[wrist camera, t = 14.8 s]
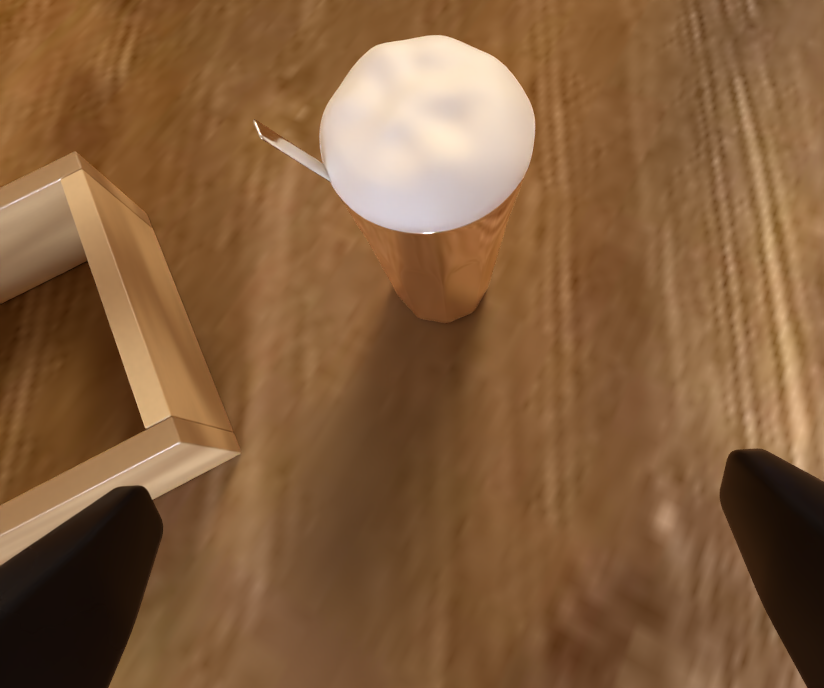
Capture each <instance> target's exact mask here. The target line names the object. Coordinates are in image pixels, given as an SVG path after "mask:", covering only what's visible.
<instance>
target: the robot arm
mask: <svg viewBox="0 0 824 688" xmlns="http://www.w3.org/2000/svg"><path fill="white" fill-rule="evenodd" d="M720 502H721V506H722V509H723V511H724V514H725V516H726V518H727V521H728V523H729V526H730V528H731V530H732V533H733V535H734V538H735V540H736V542H737V545H738V547H739V550H740V552H741V554H742V557H743V559H744V561H745V564H746V566H747V569H748V571H749V573H750V576H751V578H752V581H753V583H754V585H755V588H756V590H757V592H758V595H759V597H760V599H761V601H762V603H763V606H764V608H765V610H766V612H767V614H768V616H769V618H770V620H771V621H772V623H773V625H774V627H775V629H776V631H777V633H778V635H779V636H780V638H781V640H782V642H783V644H784V646H785V647H786V649H787V651H788V653H789V655H790V657H791V658H792V660H793V662H794V664H795V666H796V668H797V669H798V671H799V673H800V675H801V677H802V679H803V680H804V682H805V684H806V686H807V688H824V482H823V481H821V480H820V479H818V478H816V477H814V476H812V475H810V474H809V473H807V472H805V471H803V470H801V469H799V468H797V467H796V466H794V465H792V464H790V463H788V462H786V461H785V460H783V459H781V458H779V457H777V456H775V455H774V454H772V453H770V452H768V451H766V450H763V449H742V450H734V451H732V452H731V453H730V454H729V456H728V458H727V462H726V466H725V471H724V475H723V479H722V483H721V488H720ZM162 534H163V523H162V519H161V517H160V515H159V513H158V511H157V509H156V506H155V504H154V502H153V500H152V498H151V496H150V494H149V492H148V490H147V489H146V488H145V487H144V486H140V485H133V486H120V487H116V488H114V489H112V490H111V491H109V492H108V493H106V494H105V495H104V496H102V497H101V498H99V499H98V500H96V501H95V502H93V503H92V504H90V505H89V506H87V507H86V508H84V509H83V510H81V511H80V512H79V513H77V514H76V515H74V516H73V517H71V518H70V519H68V520H67V521H65V522H64V523H62V524H61V525H59V526H58V527H56V528H55V529H53V530H52V531H51V532H49V533H48V534H46V535H45V536H43V537H42V538H40V539H39V540H37V541H36V542H34V543H33V544H31V545H30V546H28V547H27V548H25V549H24V550H23V551H21V552H20V553H18V554H17V555H15V556H14V557H12V558H11V559H9V560H8V561H6V562H5V563H3V564H2V565H0V688H108V687H109V685H110V682H111V680H112V678H113V675H114V673H115V671H116V668H117V666H118V663H119V661H120V659H121V656H122V654H123V652H124V649H125V647H126V644H127V642H128V639H129V637H130V634H131V632H132V629H133V626H134V623H135V620H136V618H137V615H138V612H139V608H140V605H141V602H142V599H143V596H144V592H145V589H146V586H147V583H148V580H149V577H150V573H151V570H152V567H153V564H154V561H155V557H156V554H157V551H158V548H159V545H160V542H161V538H162Z"/></svg>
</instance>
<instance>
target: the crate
mask: <svg viewBox="0 0 824 688" xmlns="http://www.w3.org/2000/svg"><path fill="white" fill-rule="evenodd" d="M86 261H88V263H89V266H90V269H91V272H92V275H93V278H94V280H95V283H96V286H97V289H98V292H99V295H100V298H101V301H102V304H103V307H104V310H105V313H106V315H107V318H108V321H109V324H110V327H111V330H112V333H113V336H114V339H115V342H116V345H117V348H118V350H119V353H120V356H121V359H122V362H123V365H124V368H125V371H126V374H127V377H128V380H129V383H130V385H131V388H132V391H133V394H134V397H135V400H136V403H137V406H138V409H139V412H140V415H141V418H142V421H143V423H144V426H145V428H146V429H147V430H145V431H143V432H141V433H139V434H137V435H135V436H133V437H131V438H129V439H127V440H125V441H123V442H121V443H120V444H118V445H116V446H114V447H112V448H110V449H108V450H106V451H104V452H102V453H100V454H98V455H96V456H94V457H92V458H91V459H89V460H87V461H85V462H83V463H81V464H79V465H77V466H75V467H73V468H71V469H69V470H67V471H65V472H63V473H61V474H60V475H58V476H56V477H54V478H52V479H50V480H48V481H46V482H44V483H42V484H40V485H38V486H36V487H34V488H32V489H30V490H29V491H27V492H25V493H23V494H21V495H19V496H17V497H15V498H13V499H11V500H9V501H7V502H5V503H3V504H1V505H0V565H2V564H3V563H5V562H6V561H8V560H9V559H11V558H12V557H14V556H15V555H17V554H18V553H20V552H21V551H23V550H24V549H25V548H27V547H28V546H30V545H31V544H33V543H34V542H36V541H37V540H39V539H40V538H42V537H43V536H45V535H46V534H48V533H49V532H51V531H52V530H53V529H55V528H56V527H58V526H59V525H61V524H62V523H64V522H65V521H67V520H68V519H70V518H71V517H73V516H74V515H76V514H77V513H79V512H80V511H81V510H83V509H84V508H86V507H87V506H89V505H90V504H92V503H93V502H95V501H96V500H98V499H99V498H101V497H102V496H104V495H105V494H106V493H108V492H109V491H111V490H112V489H114V488H116V487H120V486H133V485H140V486H144V487H145V488H146V489H147V490H148V492H149V494H150V496H151V498H152V500H153V499H155V498H157V497H159V496H161V495H163V494H164V493H166V492H168V491H170V490H172V489H174V488H176V487H178V486H180V485H182V484H184V483H186V482H187V481H189V480H191V479H193V478H195V477H197V476H199V475H201V474H203V473H205V472H207V471H208V470H210V469H212V468H214V467H216V466H218V465H220V464H222V463H224V462H226V461H228V460H230V459H231V458H233V457H235V456H237V455H239V454H241V450H240V447H239V445H238V442H237V440H236V437H235V435H234V433H232V432H233V429H232V427H231V424H230V422H229V419H228V417H227V414H226V412H225V409H224V407H223V404H222V402H221V399H220V397H219V394H218V392H217V389H216V387H215V384H214V382H213V379H212V376H211V374H210V371H209V369H208V366H207V364H206V361H205V359H204V356H203V354H202V351H201V349H200V346H199V344H198V341H197V339H196V336H195V334H194V331H193V329H192V326H191V324H190V321H189V319H188V316H187V313H186V311H185V308H184V306H183V303H182V301H181V298H180V296H179V293H178V291H177V288H176V286H175V283H174V281H173V278H172V276H171V273H170V271H169V268H168V266H167V263H166V261H165V258H164V255H163V253H162V250H161V248H160V245H159V243H158V240H157V238H156V235H155V233H154V230H153V229H152V226H151V223H150V221H149V218H148V216H147V213H145V212H144V211H143V210H142V209H141V208H140V207H139V206H137V205H136V204H135V203H134V202H133V201H132V200H131V199H129V198H128V197H127V196H126V195H125V194H124V193H123V192H121V191H120V190H119V189H118V188H117V187H116V186H115V185H113V184H112V183H111V182H110V181H109V180H108V179H107V178H105V177H104V176H103V175H102V174H101V173H100V172H99V171H98V170H96V169H95V168H94V167H93V166H92V165H91V164H90V163H88V162H87V161H86V160H85V159H84V158H83V157H82V156H80V155H79V154H78V153H77V152H72V153H70V154H68V155H66V156H64V157H62V158H60V159H58V160H56V161H54V162H52V163H50V164H48V165H46V166H44V167H42V168H40V169H38V170H35V171H33V172H31V173H29V174H27V175H25V176H23V177H21V178H19V179H17V180H15V181H13V182H11V183H9V184H7V185H5V186H3V187H1V188H0V304H2V303H4V302H6V301H8V300H10V299H12V298H14V297H16V296H18V295H20V294H22V293H24V292H26V291H28V290H30V289H32V288H34V287H36V286H38V285H40V284H42V283H44V282H46V281H48V280H50V279H52V278H54V277H56V276H58V275H60V274H62V273H64V272H66V271H68V270H70V269H72V268H74V267H76V266H78V265H80V264H82V263H84V262H86Z"/></svg>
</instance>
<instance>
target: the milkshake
mask: <svg viewBox="0 0 824 688" xmlns="http://www.w3.org/2000/svg"><path fill="white" fill-rule="evenodd" d="M253 123H254V126H255V128H256V130H257V133H258V135H259V137H260V138H261V139H262V140H263V141H265V142H267V143H268V144H270V145H271V146H273V147H275V148H276V149H278V150H279V151H281V152H283V153H284V154H286V155H287V156H289V157H291V158H292V159H294V160H295V161H297V162H299V163H300V164H302V165H304V166H305V167H307V168H308V169H310V170H312V171H313V172H315V173H316V174H318V175H320V176H321V177H323V178H325V179H326V180H328V181H329V182H330V183H331V184H332V186H333V188H334V189H335V191H336V192H337V194H338V196H339V197H340V199H341V200H342V202H343V204H344V205H345V207H346V208H347V210H348V211H349V213H350V214H351V216H352V218H353V219H354V221H355V222H356V224H357V225H358V227H359V228H360V230H361V232H362V233H363V235H364V236H365V238H366V239H367V241H368V243H369V245H370V246H371V248H372V250H373V252H374V254H375V255H376V257H377V259H378V261H379V263H380V264H381V266H382V268H383V270H384V271H385V273H386V275H387V277H388V279H389V280H390V282H391V284H392V286H393V287H394V289H395V291H396V293H397V294H398V296H399V298H400V299H401V300H402V301H403V302H404V303H405V304H406V305H407V306H408V307H409V308H410V309H411V311H412V312H413V313H414V314H415V315H416V316H417V317H418V318H420V319H425V320H431V321H436V322H441V323H446V324H447V323H449V322H452V321H454V320H456V319H459V318H461V317H463V316H465V315H468V314H470V313H472V312H474V310H475V309H476V307H477V305H478V304H479V302H480V300H481V299H482V297H483V295H484V294H485V292H486V290H487V289H488V286H489V283H490V280H491V277H492V273H493V270H494V267H495V263H496V260H497V257H498V253H499V250H500V247H501V244H502V240H503V237H504V233H505V230H506V227H507V223H508V220H509V218H510V215H511V212H512V209H513V207H514V204H515V201H516V198H517V196H518V193H519V190H520V188H521V185H522V182H523V179H524V177H525V174H526V171H527V169H528V166H529V163H530V160H531V156H532V152H533V146H534V138H535V118H534V112H533V109H532V106H531V103H530V101H529V99H528V97H527V95H526V93H525V92H524V90H523V88H522V87H521V85H520V84H519V82H518V81H517V79H516V78H515V77H514V75H513V74H512V73H511V72H510V71H509V70H508V68H507V67H506V66H505V65H504V64H503V63H501V62H500V61H499V60H498V59H496V58H495V57H493V56H491V55H489V54H487V53H485V52H483V51H481V50H478V49H476V48H474V47H472V46H469V45H467V44H465V43H463V42H461V41H458V40H456V39H453V38H450V37H447V36H442V35H430V36H423V37H418V38H413V39H408V40H402V41H395V42H388V43H383V44H379V45H377V46H374V47H373V48H371V49H370V50H369V51H368V52H366V53H365V54H364V55H363V56H362V57H361V58H360V59H359V60H358V61H357V62H356V64H355V65H354V66H353V67H352V69H351V70H350V71H349V73H348V74H347V76H346V77H345V79H344V80H343V82H342V83H341V85H340V86H339V88H338V89H337V91H336V92H335V93H334V95H333V96H332V98H331V99H330V101H329V102H328V104H327V106H326V108H325V111H324V113H323V116H322V120H321V125H320V135H319V139H320V151H321V157H322V161H323V163H321V162H320V161H318V160H317V159H315V158H313V157H312V156H310V155H309V154H307V153H306V152H304V151H303V150H301V149H300V148H298V147H297V146H295V145H294V144H292V143H291V142H289V141H288V140H286V139H285V138H283V137H282V136H280V135H278V134H277V133H275V132H274V131H272V130H271V129H269V128H268V127H266V126H265V125H263V124H262V123H260V122H259V121H257V120H255V119H254V120H253Z"/></svg>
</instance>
